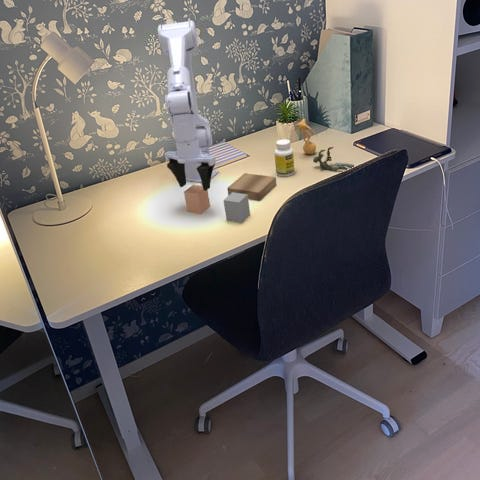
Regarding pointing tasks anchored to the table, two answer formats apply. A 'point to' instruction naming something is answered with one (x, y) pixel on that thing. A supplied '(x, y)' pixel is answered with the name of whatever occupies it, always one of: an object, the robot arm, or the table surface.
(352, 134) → the table surface
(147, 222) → the table surface
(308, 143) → the figurine
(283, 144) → the supplement bottle
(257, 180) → the walnut slab
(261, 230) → the table surface
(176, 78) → the robot arm
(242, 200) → the medium grey block
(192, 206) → the terracotta block
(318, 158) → the zombie figurine
